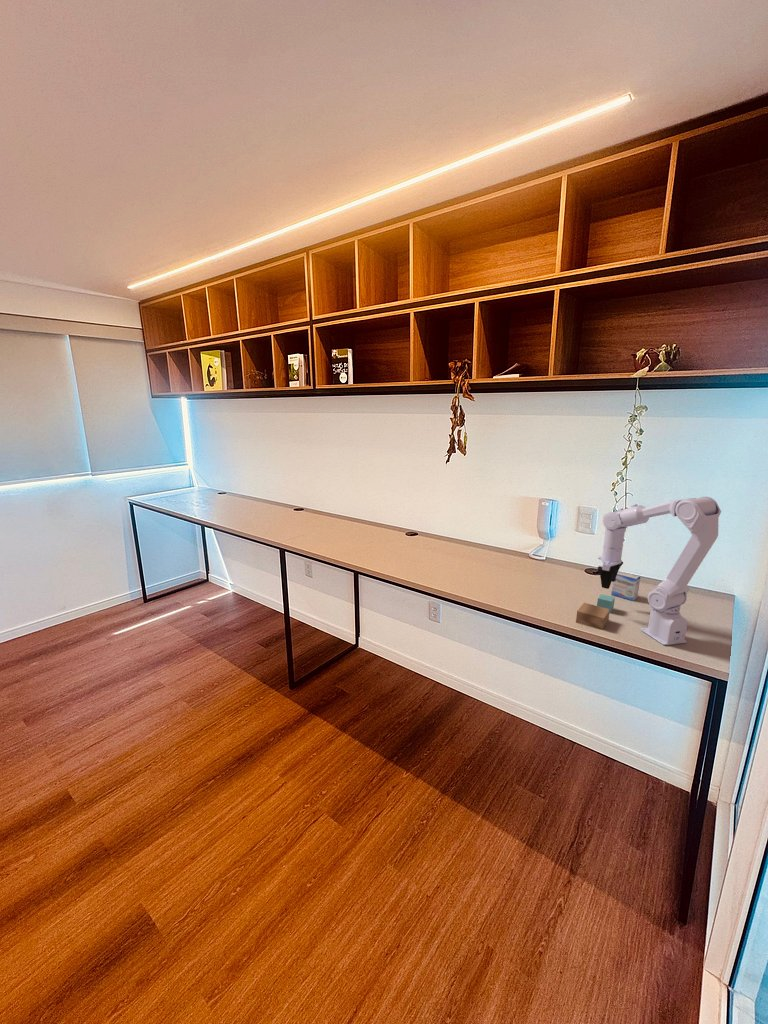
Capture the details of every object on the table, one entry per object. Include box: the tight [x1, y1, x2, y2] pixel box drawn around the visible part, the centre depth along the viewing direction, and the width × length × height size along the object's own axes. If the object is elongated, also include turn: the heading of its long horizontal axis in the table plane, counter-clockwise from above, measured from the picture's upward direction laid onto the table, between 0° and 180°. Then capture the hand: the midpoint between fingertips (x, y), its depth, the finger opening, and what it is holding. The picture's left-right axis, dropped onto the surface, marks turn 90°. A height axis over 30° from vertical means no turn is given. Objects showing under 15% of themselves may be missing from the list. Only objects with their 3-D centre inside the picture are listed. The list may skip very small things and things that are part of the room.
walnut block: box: [575, 602, 611, 631], centre depth 142 cm, size 8×8×4 cm
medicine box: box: [610, 570, 641, 602], centre depth 161 cm, size 8×4×9 cm, turn 45°
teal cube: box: [596, 593, 616, 614], centre depth 151 cm, size 4×4×4 cm
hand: (608, 584), depth 149 cm, fingers open, 7 cm apart
